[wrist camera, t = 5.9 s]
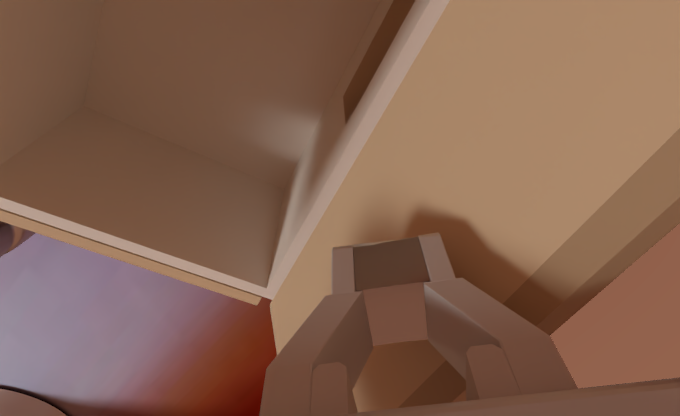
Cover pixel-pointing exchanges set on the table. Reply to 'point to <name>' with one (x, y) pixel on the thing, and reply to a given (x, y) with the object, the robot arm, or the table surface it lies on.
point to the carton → (194, 124)
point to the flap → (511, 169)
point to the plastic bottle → (12, 237)
